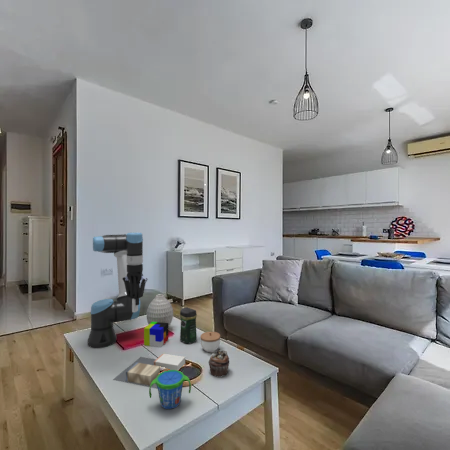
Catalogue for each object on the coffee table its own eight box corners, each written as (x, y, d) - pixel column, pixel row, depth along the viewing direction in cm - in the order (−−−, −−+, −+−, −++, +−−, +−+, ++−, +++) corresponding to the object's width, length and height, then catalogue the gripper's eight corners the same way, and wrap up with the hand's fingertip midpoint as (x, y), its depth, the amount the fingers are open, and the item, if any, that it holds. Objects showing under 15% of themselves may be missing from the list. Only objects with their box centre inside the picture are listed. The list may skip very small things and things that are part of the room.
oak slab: (125, 371, 120) (150, 376, 116) (136, 362, 127) (160, 366, 124) (125, 380, 120) (150, 385, 116) (136, 371, 127) (160, 375, 124)
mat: (112, 380, 120) (112, 379, 120) (140, 357, 141) (140, 356, 141) (166, 391, 113) (166, 390, 113) (187, 365, 133) (187, 364, 133)
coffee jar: (199, 341, 159) (199, 309, 159) (187, 345, 154) (187, 312, 153) (188, 336, 166) (188, 305, 166) (177, 340, 161) (177, 308, 160)
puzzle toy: (161, 347, 151) (160, 329, 151) (144, 346, 153) (144, 328, 153) (168, 340, 161) (168, 322, 161) (152, 338, 163) (152, 321, 163)
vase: (174, 334, 169) (174, 297, 168) (146, 337, 164) (146, 299, 164) (172, 324, 184) (172, 291, 184) (146, 326, 180) (146, 292, 180)
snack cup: (146, 414, 100) (146, 386, 100) (152, 395, 110) (152, 370, 110) (190, 412, 101) (190, 384, 101) (191, 393, 112) (191, 368, 111)
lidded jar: (208, 356, 141) (208, 338, 141) (196, 349, 150) (196, 332, 149) (224, 350, 148) (224, 333, 148) (212, 343, 156) (212, 327, 156)
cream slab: (153, 361, 128) (177, 365, 125) (162, 353, 136) (185, 357, 132) (153, 370, 128) (177, 374, 125) (162, 361, 136) (185, 365, 132)
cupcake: (231, 368, 131) (231, 347, 131) (226, 379, 121) (226, 356, 121) (212, 365, 133) (212, 344, 133) (205, 376, 124) (205, 353, 124)
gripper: (118, 264, 135) (119, 312, 136) (141, 265, 131) (142, 315, 132) (128, 262, 142) (128, 307, 143) (150, 263, 139) (150, 310, 139)
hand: (135, 311), depth 137 cm, fingers closed
